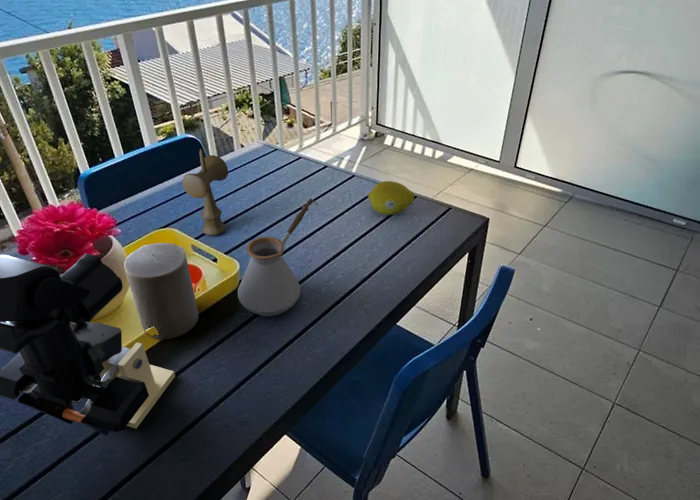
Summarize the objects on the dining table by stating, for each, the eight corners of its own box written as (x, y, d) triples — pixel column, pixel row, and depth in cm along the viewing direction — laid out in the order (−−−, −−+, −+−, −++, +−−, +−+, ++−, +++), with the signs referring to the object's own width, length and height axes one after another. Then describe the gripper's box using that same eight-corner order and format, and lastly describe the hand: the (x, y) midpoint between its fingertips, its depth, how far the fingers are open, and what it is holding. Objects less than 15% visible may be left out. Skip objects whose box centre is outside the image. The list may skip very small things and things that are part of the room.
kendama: (236, 222, 115) (225, 141, 103) (215, 245, 108) (202, 161, 96) (212, 217, 116) (199, 137, 105) (191, 240, 109) (174, 156, 97)
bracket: (136, 428, 71) (119, 384, 66) (89, 414, 73) (68, 370, 67) (175, 376, 79) (163, 332, 73) (132, 364, 81) (117, 320, 75)
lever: (101, 431, 66) (93, 425, 64) (67, 420, 67) (58, 413, 65) (146, 359, 73) (139, 351, 71) (113, 350, 74) (107, 342, 72)
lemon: (363, 216, 118) (364, 187, 114) (372, 200, 125) (374, 172, 120) (407, 225, 116) (410, 195, 111) (414, 209, 122) (418, 179, 117)
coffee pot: (277, 332, 87) (271, 265, 78) (226, 309, 92) (215, 243, 83) (338, 267, 103) (339, 205, 94) (291, 250, 107) (288, 189, 98)
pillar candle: (160, 348, 84) (140, 279, 75) (132, 319, 89) (110, 252, 80) (210, 319, 90) (196, 252, 81) (180, 294, 95) (164, 228, 86)
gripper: (160, 319, 62) (183, 396, 72) (38, 288, 67) (75, 365, 76) (100, 389, 54) (135, 466, 63) (-35, 349, 58) (16, 427, 67)
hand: (90, 426), depth 68 cm, fingers closed on lever, 5 cm apart
